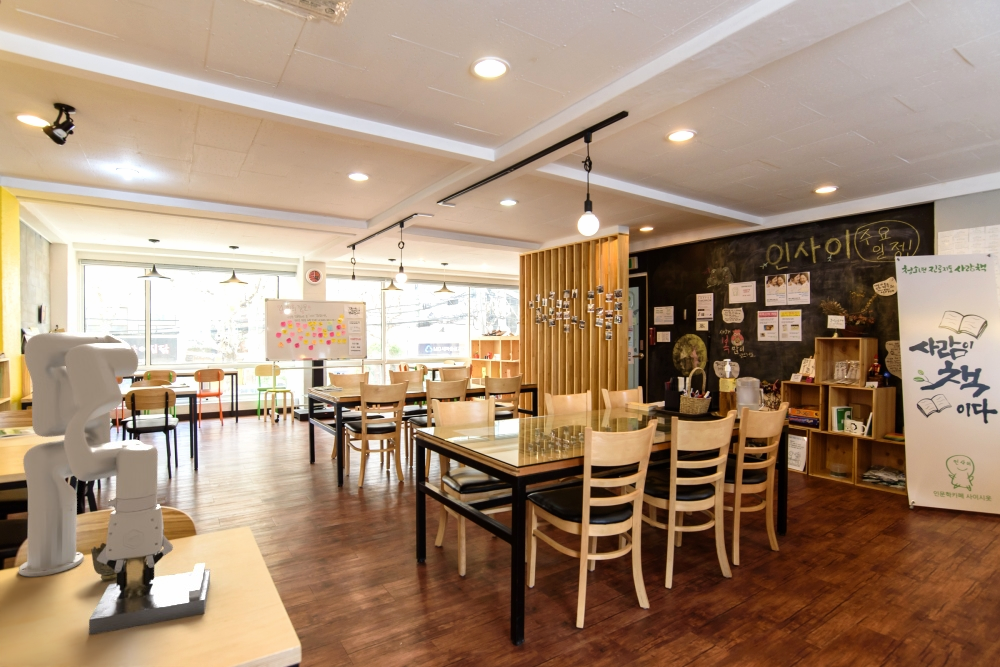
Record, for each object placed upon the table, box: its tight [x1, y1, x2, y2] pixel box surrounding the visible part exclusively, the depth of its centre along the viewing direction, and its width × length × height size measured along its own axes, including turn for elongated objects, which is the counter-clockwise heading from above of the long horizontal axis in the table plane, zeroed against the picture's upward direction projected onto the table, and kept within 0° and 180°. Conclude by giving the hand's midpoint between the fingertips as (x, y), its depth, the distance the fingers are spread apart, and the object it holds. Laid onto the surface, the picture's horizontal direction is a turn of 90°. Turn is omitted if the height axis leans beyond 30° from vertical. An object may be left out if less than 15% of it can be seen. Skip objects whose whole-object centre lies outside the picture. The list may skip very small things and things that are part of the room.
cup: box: [90, 542, 125, 582], centre depth 129 cm, size 8×7×8 cm
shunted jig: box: [88, 562, 211, 636], centre depth 116 cm, size 16×20×5 cm
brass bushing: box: [124, 556, 147, 599], centre depth 116 cm, size 4×4×10 cm
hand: (135, 584), depth 116 cm, fingers closed on brass bushing, 4 cm apart
